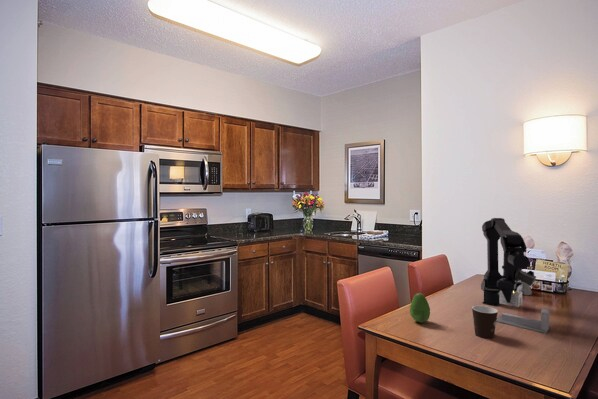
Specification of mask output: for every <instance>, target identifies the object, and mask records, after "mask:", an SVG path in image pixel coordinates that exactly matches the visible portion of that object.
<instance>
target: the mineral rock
mask: <svg viewBox="0 0 598 399" xmlns="http://www.w3.org/2000/svg"><path fill="white" fill-rule="evenodd" d="M519 282H521V281H520V280H519ZM521 283H523V284H521V285H520V286H518V288H517V291H519V292H522V296H531V295H532V289H531V285H528V284H527V283H525V282H521Z"/></svg>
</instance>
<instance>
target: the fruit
mask: <svg viewBox="0 0 598 399" xmlns="http://www.w3.org/2000/svg"><path fill="white" fill-rule="evenodd" d="M409 313H410V316H411V318H412V319H413V320H414V321H415V322H418V323H421V324H422V323H426V322H428V320H429V319H430V315H431V308H430V304H429V302H428V300H427V298H426V296H425V295H424V294H423V293H421V292H417V293H415V294H414V295H413V297H412V301H411V303H410V307H409Z"/></svg>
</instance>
